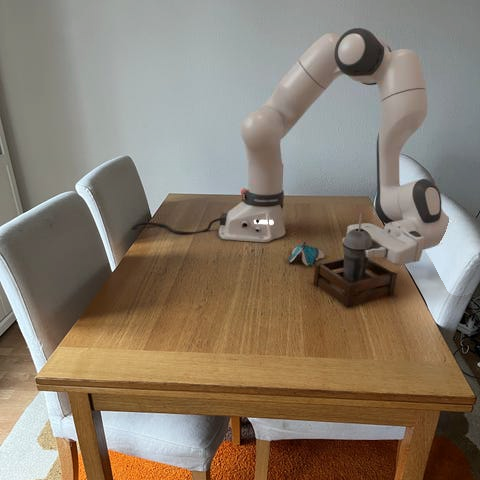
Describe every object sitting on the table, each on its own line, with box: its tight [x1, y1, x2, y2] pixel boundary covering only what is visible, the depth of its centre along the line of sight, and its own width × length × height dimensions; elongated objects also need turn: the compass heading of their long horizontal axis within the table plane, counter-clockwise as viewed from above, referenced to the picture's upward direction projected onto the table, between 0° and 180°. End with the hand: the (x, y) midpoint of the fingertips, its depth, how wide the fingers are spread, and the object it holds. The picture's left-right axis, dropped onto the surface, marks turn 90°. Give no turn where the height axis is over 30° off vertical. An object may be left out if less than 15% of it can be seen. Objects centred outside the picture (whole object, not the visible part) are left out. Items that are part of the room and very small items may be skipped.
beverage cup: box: [342, 212, 373, 283], centre depth 119 cm, size 7×7×20 cm
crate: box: [313, 257, 398, 309], centre depth 123 cm, size 15×15×6 cm
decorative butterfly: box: [288, 237, 325, 267], centre depth 140 cm, size 10×6×10 cm
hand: (354, 247), depth 118 cm, fingers closed on beverage cup, 7 cm apart
